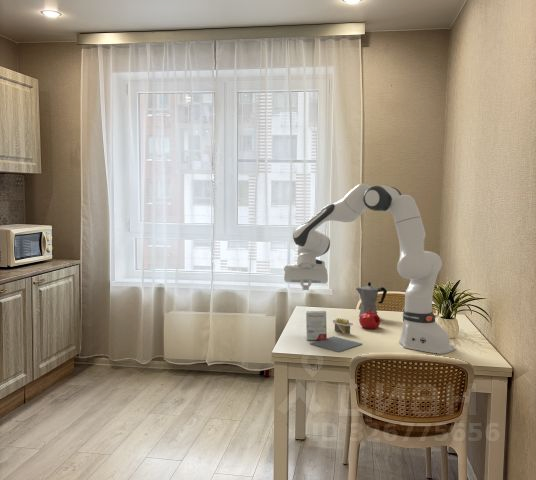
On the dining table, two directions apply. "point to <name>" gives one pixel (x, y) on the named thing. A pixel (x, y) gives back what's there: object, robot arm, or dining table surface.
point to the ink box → (316, 325)
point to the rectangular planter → (342, 325)
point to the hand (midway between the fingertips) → (305, 289)
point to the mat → (336, 344)
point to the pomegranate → (369, 320)
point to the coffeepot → (370, 297)
